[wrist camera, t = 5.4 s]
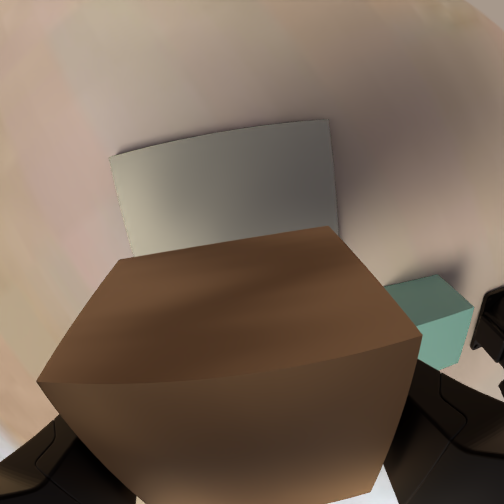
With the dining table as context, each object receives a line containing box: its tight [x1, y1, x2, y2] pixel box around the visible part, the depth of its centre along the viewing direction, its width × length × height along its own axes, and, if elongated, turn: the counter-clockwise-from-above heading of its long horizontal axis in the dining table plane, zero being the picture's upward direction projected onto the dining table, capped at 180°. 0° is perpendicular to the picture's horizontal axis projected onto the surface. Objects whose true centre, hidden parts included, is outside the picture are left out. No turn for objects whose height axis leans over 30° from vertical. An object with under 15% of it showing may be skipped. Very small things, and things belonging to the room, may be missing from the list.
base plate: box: [109, 119, 339, 257], centre depth 18 cm, size 12×12×1 cm
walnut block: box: [36, 226, 423, 504], centre depth 7 cm, size 6×6×5 cm
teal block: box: [384, 274, 474, 370], centre depth 19 cm, size 5×5×5 cm
